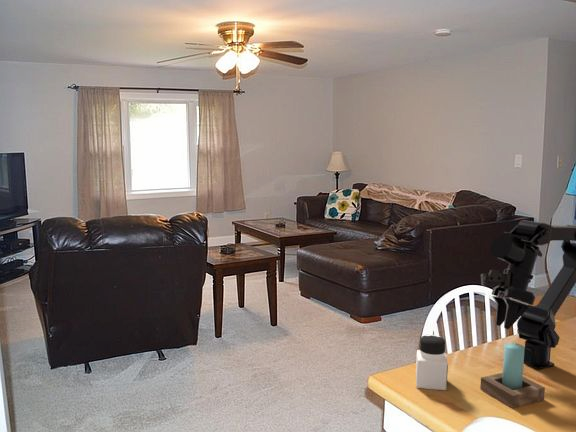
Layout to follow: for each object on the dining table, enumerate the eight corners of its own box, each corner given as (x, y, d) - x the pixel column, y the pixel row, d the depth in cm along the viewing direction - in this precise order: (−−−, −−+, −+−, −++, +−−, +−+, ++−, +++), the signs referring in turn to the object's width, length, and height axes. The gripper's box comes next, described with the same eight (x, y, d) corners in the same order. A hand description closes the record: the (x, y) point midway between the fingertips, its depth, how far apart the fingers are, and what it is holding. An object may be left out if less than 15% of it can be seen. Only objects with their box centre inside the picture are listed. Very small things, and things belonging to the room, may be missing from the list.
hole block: (510, 381, 135) (511, 370, 135) (544, 399, 126) (545, 387, 126) (480, 389, 131) (480, 377, 131) (512, 408, 122) (513, 395, 122)
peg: (504, 388, 132) (507, 341, 130) (523, 393, 129) (526, 345, 127) (499, 394, 129) (501, 347, 127) (518, 400, 126) (521, 351, 124)
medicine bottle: (446, 391, 130) (449, 343, 129) (416, 388, 132) (418, 341, 130) (444, 378, 137) (446, 333, 135) (415, 375, 139) (417, 331, 137)
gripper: (481, 259, 148) (464, 313, 147) (496, 256, 129) (476, 318, 128) (522, 272, 146) (505, 327, 145) (544, 271, 127) (524, 335, 126)
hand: (502, 326), depth 136 cm, fingers open, 9 cm apart
